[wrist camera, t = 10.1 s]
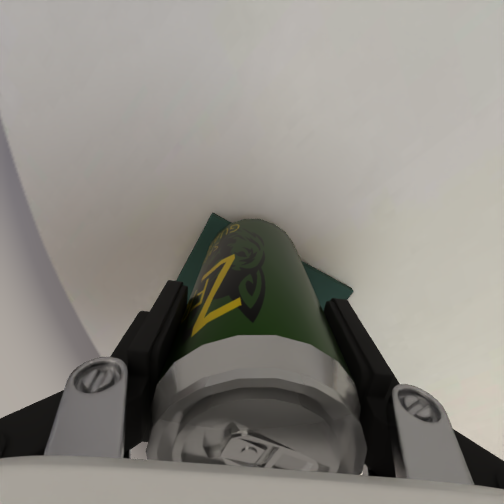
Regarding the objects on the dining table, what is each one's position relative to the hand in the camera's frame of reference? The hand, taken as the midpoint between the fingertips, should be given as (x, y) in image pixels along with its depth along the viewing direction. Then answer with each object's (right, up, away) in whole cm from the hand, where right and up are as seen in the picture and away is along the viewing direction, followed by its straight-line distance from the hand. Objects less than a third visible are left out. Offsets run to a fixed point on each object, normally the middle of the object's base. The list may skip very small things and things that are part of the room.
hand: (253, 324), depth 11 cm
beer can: (0, +3, +7) cm, 7 cm away
